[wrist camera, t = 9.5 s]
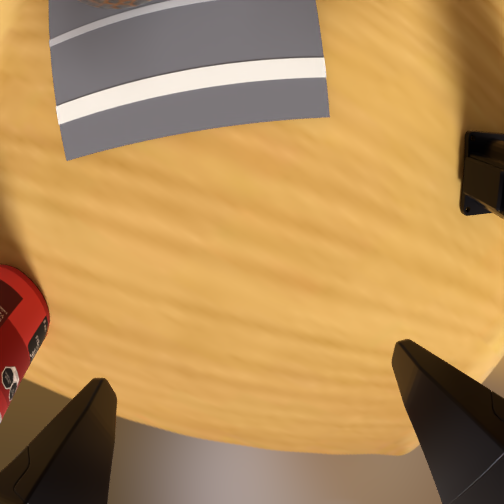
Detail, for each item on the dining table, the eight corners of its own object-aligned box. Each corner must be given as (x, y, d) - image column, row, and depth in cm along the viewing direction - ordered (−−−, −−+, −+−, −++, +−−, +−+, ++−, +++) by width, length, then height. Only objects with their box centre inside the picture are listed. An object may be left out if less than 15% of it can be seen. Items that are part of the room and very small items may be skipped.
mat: (292, -94, 10) (294, -99, 10) (326, 116, 17) (330, 117, 17) (55, -46, 10) (50, -49, 9) (70, 159, 17) (66, 161, 17)
